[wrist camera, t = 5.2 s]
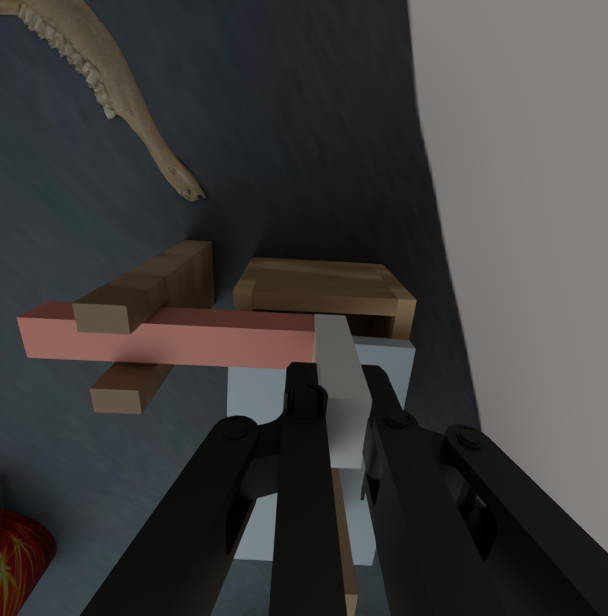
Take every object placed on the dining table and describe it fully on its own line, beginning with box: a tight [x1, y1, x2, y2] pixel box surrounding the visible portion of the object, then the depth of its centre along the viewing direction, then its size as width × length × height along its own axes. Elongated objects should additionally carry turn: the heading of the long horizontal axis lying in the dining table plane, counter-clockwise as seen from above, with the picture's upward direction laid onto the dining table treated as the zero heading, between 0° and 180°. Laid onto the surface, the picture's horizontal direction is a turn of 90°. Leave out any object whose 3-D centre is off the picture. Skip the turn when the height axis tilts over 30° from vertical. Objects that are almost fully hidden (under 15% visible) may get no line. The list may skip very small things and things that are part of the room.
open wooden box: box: [233, 257, 417, 340], centre depth 25 cm, size 16×10×8 cm, turn 177°
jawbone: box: [0, 0, 206, 202], centre depth 21 cm, size 9×20×2 cm, turn 61°
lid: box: [227, 336, 416, 616], centre depth 18 cm, size 16×10×9 cm, turn 175°
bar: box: [17, 301, 315, 369], centre depth 16 cm, size 2×13×2 cm, turn 87°
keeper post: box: [72, 240, 215, 414], centre depth 20 cm, size 5×2×13 cm, turn 177°
